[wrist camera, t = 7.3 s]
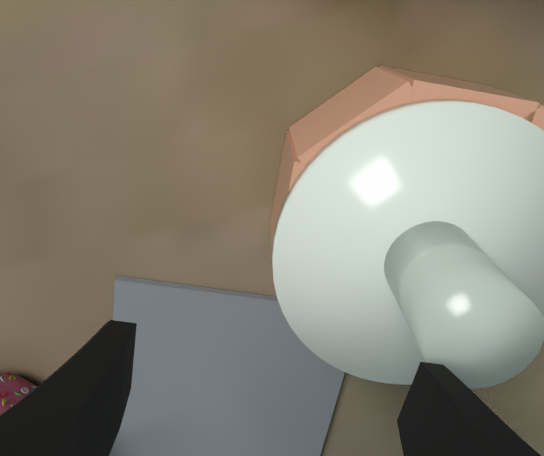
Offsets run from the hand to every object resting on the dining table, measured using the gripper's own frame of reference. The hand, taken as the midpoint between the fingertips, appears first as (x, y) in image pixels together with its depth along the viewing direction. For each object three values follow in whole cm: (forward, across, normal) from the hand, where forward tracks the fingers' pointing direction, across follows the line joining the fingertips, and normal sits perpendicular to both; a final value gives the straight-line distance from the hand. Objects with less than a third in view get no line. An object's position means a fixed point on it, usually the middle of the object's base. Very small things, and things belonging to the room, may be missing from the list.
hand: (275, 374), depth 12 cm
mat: (+10, 0, +10) cm, 15 cm away
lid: (+6, -5, -1) cm, 8 cm away
